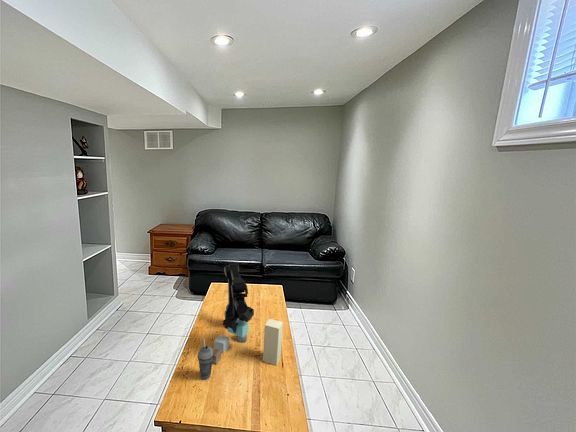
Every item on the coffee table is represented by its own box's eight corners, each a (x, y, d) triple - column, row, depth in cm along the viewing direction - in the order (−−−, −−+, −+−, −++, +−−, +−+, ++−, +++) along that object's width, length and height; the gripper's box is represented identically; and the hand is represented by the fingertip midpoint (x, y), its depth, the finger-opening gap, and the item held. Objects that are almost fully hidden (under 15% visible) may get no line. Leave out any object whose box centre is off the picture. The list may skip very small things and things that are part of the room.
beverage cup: (204, 384, 123) (204, 346, 120) (194, 377, 127) (193, 339, 123) (216, 375, 129) (216, 337, 126) (206, 368, 133) (206, 332, 129)
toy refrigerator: (281, 356, 144) (283, 321, 140) (276, 365, 137) (278, 328, 134) (268, 352, 147) (269, 317, 143) (262, 361, 140) (264, 325, 136)
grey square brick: (213, 350, 146) (213, 341, 145) (219, 344, 152) (220, 334, 150) (223, 353, 144) (223, 343, 143) (229, 346, 150) (229, 337, 149)
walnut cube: (207, 363, 137) (207, 354, 136) (212, 356, 142) (212, 348, 141) (216, 365, 136) (216, 356, 135) (220, 358, 140) (220, 350, 140)
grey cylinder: (236, 340, 155) (236, 331, 154) (241, 336, 159) (241, 327, 158) (243, 343, 153) (243, 334, 152) (248, 339, 157) (248, 330, 156)
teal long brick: (227, 331, 147) (227, 321, 146) (233, 327, 152) (233, 317, 151) (242, 337, 143) (242, 327, 142) (247, 332, 147) (248, 323, 146)
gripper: (239, 316, 132) (238, 344, 135) (260, 301, 149) (259, 326, 151) (222, 310, 137) (221, 337, 140) (244, 295, 154) (243, 320, 157)
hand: (237, 330), depth 147 cm, fingers closed on teal long brick, 5 cm apart
